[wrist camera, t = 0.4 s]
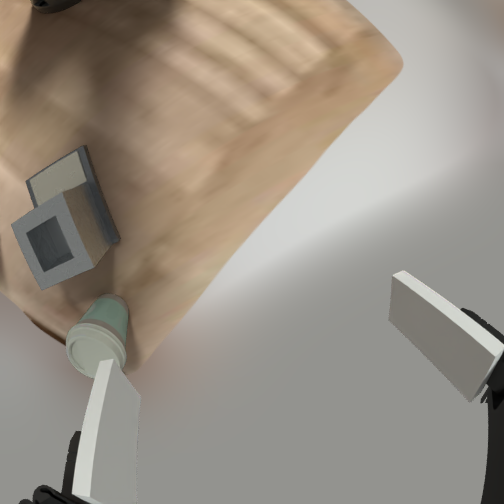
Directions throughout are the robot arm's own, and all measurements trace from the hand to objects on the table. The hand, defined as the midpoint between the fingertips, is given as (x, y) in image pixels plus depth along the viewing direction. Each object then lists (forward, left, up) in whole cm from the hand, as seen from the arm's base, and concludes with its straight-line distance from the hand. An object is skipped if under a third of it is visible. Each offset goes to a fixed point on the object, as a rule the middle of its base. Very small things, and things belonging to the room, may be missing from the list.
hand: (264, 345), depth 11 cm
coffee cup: (+9, -20, -27) cm, 35 cm away
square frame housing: (-8, -19, -27) cm, 34 cm away
